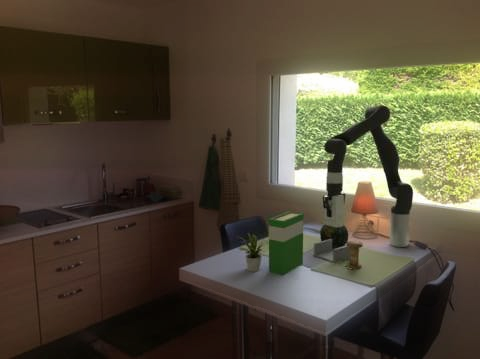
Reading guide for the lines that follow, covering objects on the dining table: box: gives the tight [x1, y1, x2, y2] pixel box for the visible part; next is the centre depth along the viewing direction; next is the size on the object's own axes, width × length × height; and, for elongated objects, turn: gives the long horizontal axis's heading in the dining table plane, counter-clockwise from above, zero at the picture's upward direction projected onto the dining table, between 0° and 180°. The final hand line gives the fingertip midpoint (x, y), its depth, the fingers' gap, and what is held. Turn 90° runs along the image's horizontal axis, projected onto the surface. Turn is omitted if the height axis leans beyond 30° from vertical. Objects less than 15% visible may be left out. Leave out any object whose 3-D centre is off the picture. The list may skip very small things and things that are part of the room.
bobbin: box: [345, 240, 364, 270], centre depth 194 cm, size 7×7×11 cm
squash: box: [319, 224, 349, 247], centre depth 226 cm, size 14×15×15 cm
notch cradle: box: [313, 239, 350, 264], centre depth 208 cm, size 12×14×6 cm
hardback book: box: [268, 210, 304, 277], centre depth 192 cm, size 18×7×24 cm, turn 144°
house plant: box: [238, 233, 266, 272], centre depth 192 cm, size 14×14×16 cm
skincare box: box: [323, 194, 345, 227], centre depth 205 cm, size 8×6×15 cm
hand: (333, 215), depth 206 cm, fingers closed on skincare box, 6 cm apart
